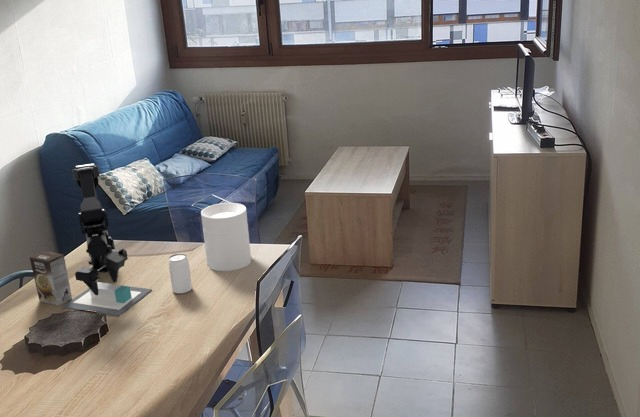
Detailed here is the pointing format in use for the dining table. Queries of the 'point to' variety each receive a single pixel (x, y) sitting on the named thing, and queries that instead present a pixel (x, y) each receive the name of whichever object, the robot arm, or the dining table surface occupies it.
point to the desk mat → (106, 302)
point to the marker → (112, 292)
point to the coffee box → (51, 277)
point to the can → (180, 273)
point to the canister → (226, 236)
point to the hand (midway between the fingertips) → (105, 288)
